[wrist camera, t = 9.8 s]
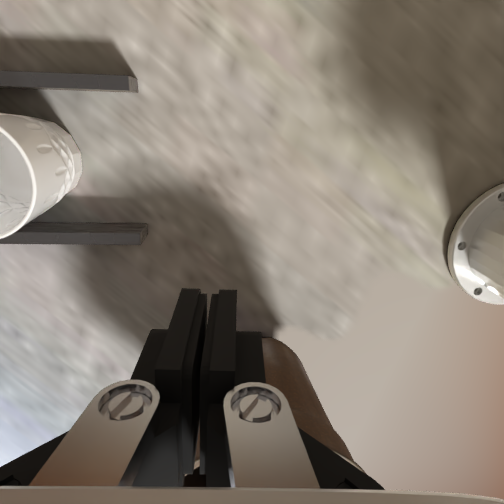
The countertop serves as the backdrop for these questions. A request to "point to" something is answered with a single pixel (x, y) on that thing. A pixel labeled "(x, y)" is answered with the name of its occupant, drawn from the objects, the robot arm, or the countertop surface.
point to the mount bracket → (73, 231)
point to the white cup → (33, 169)
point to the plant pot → (299, 399)
